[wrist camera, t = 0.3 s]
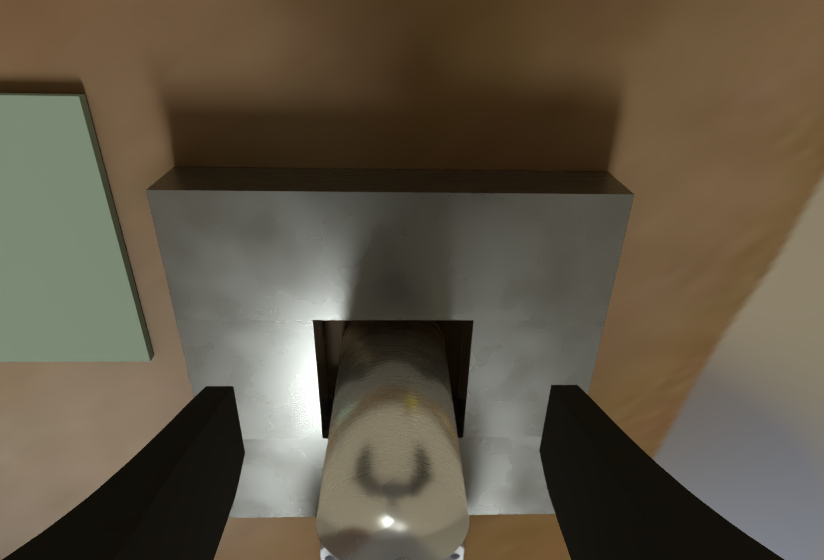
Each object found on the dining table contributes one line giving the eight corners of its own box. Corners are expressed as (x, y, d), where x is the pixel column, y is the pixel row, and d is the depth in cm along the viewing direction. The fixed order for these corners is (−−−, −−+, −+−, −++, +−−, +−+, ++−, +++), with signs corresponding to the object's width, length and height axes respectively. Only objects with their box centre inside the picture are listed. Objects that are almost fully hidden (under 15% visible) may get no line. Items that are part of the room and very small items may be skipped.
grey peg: (441, 385, 25) (463, 572, 17) (344, 385, 25) (320, 574, 17) (446, 302, 23) (474, 472, 15) (340, 302, 22) (310, 473, 15)
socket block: (547, 471, 28) (560, 513, 26) (235, 474, 27) (221, 517, 25) (608, 171, 20) (634, 194, 18) (173, 166, 19) (146, 190, 17)
